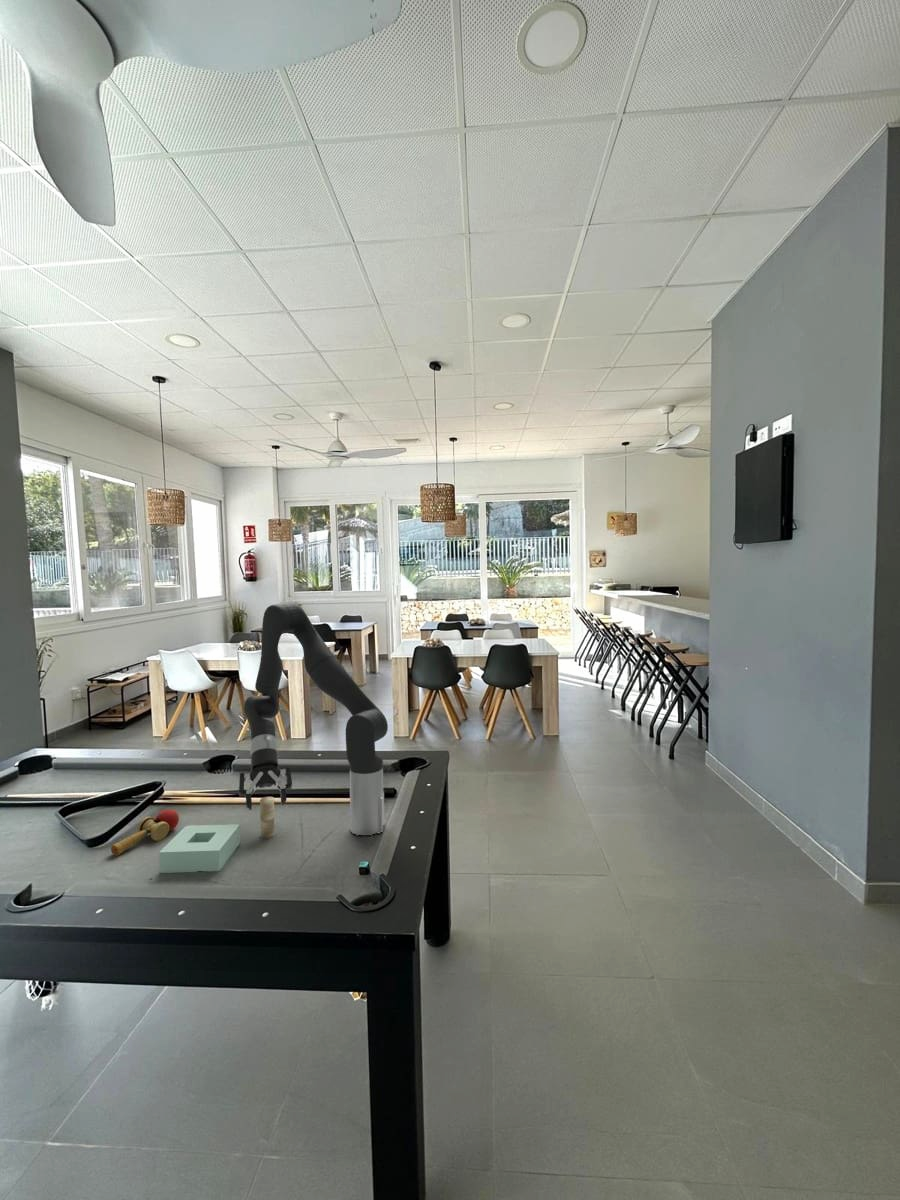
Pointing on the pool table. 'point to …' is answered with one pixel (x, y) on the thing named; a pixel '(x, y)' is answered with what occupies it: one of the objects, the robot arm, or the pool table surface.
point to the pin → (267, 817)
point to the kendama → (149, 830)
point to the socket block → (199, 848)
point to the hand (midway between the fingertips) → (266, 806)
